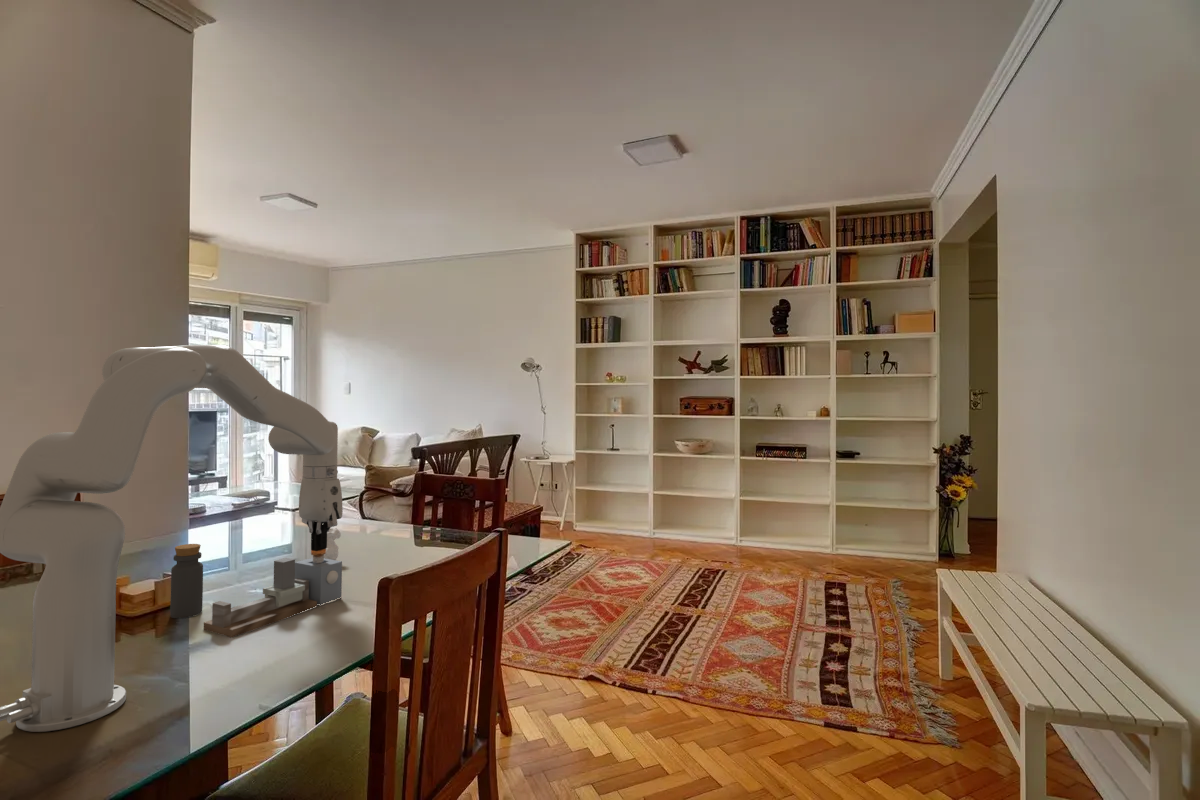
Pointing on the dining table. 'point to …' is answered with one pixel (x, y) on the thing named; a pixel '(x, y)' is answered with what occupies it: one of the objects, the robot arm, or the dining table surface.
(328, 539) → the duck figurine
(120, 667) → the dining table surface
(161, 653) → the dining table surface
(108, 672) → the robot arm
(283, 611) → the rail plinth
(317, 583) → the end cabinet
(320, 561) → the gauge plunger
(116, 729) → the dining table surface
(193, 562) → the bottle
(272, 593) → the carriage
